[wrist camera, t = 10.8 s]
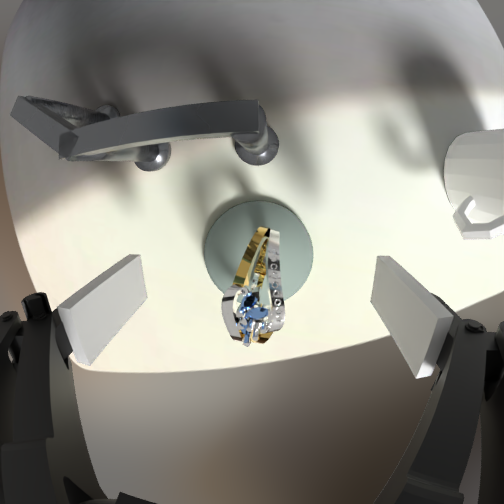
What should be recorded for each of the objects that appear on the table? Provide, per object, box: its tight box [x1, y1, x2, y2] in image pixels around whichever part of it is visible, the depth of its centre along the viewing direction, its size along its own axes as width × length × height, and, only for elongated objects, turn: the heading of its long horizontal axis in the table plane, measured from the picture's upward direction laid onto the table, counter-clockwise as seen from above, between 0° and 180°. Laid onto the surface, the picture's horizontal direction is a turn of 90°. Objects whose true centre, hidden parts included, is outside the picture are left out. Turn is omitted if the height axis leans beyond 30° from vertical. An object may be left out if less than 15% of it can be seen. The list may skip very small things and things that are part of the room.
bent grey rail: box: [10, 96, 279, 171], centre depth 13 cm, size 8×15×10 cm, turn 56°
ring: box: [222, 226, 285, 347], centre depth 16 cm, size 7×3×8 cm, turn 165°
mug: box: [444, 129, 504, 240], centre depth 13 cm, size 8×12×10 cm
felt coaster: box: [204, 201, 313, 305], centre depth 20 cm, size 8×8×1 cm
